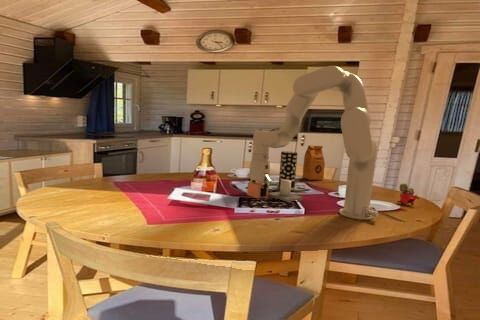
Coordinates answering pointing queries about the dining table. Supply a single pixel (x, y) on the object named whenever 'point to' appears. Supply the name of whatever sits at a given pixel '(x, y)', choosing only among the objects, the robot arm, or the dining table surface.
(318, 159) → the coffee package
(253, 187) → the orange cube
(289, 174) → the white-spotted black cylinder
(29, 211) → the dining table surface
